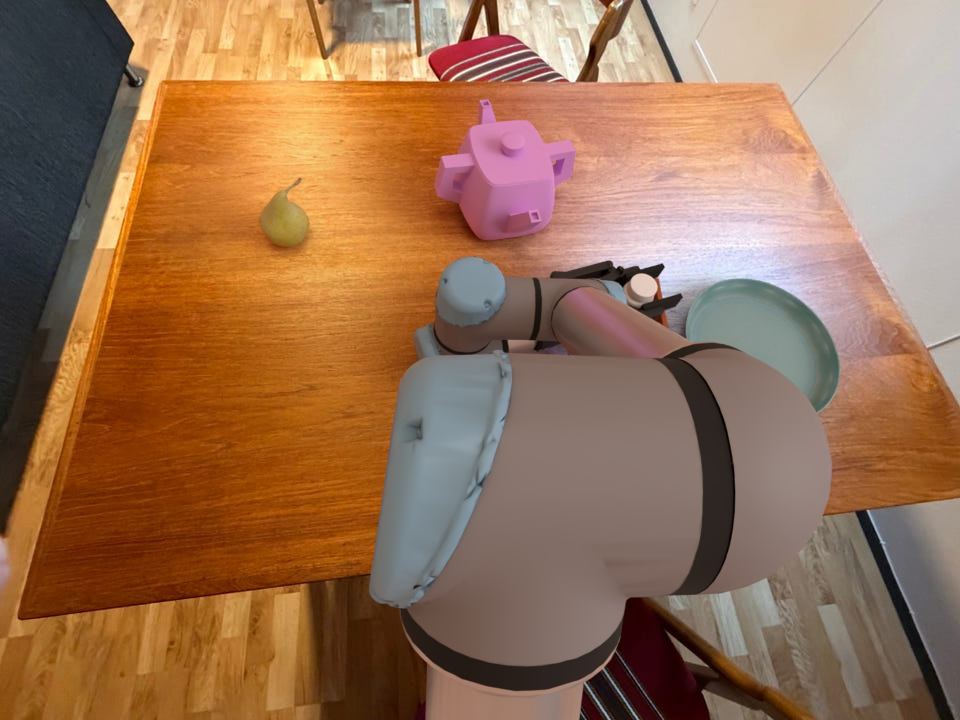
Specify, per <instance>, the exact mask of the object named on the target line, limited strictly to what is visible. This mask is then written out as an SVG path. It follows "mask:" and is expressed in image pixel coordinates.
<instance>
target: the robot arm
mask: <svg viewBox="0 0 960 720" xmlns="http://www.w3.org/2000/svg"><path fill="white" fill-rule="evenodd" d="M664 269H666V267H665V265H664V263H658V264H655V265H651V266H647V267H644V268H640V266H639V265H633V266H628V267H624V266H622V265H618V266H617V267H615V266H614V262H613V261H612V260H610V259H609V260H607V259H606V260H604V261H600V262H597V263H593V264H589V265H585V266H582V267H578V268H574V269H570V270H567V271H563V270H562V271H561V270H553V271H551V272H550V274H549V277H536V276H535V277H532V276H517V275H503V273H502V271H501V270H500V268H498V266H497V265H496V264H495V263H493V262H489V261H488V260H485V259H484V258H482V257H479V256H465V257H464V256H463V257H460V258H457V259H456V260H455V259H454V260H453V261H452V262H450V263H449V264H448V265H446V267H445V268H444V269H443V271H442V272H441V274H440V275H439V279H438V285H437V290H436V292H435V300H434V309H435V310H434V322H433V323H432V322H429V323H428V324H426V325H424V326H421V327H419V328H416V329H417V330H415V331H414V333H413V344H414V349H415V352H416V356H417V361H416V362H414V363H413V364H411V365H410V366H409V368H407V370H406V371H405V372H404V373H403V375H402V377H401V379H400V382H399V384H398V389H397V392H396V393H397V394H396V400H395V405H394V406H395V407H394V414H393V420H392V426H391V433H390V438H389V445H388V452H387V459H386V464H385V473H384V480H383V481H384V482H383V488H382V496H381V503H380V509H379V517H378V520H377V521H378V522H377V529H376V530H377V531H376V535H375V541H374V549H373V555H372V563H371V569H370V575H369V576H370V577H369V583H368V591H369V596H370V597H371V598H372V599H373V600H374V601H375V602H376V603H379V604H382V605H385V604H386V605H388V606H390V607H393V608H396V609H399V617H400V622H401V625H402V628H403V632H404V634H405V636H406V638H407V640H408V642H409V644H410V645H411V647H412V648H413V650H414V651H415V652H416V653H417V655H419V657H420V658H421V659H423V660H424V662H426V685H425V686H426V690H425V720H580V716H581V709H582V708H581V707H582V702H583V701H582V700H583V693H584V692H583V691H584V683H585V682H587V681H589V680H591V679H592V678H593V677H595V676H596V675H597V674H598V673H600V672H601V671H602V670H603V669H604V668H605V667H606V666H607V665H608V663H609V662H610V661H611V660H612V658H613V656H614V654H615V652H616V650H617V647H618V645H619V643H620V640H621V637H622V629H623V622H624V616H625V609H626V604H627V600H628V599H630V598H654V597H655V598H657V597H662V598H663V597H672V596H676V597H677V596H702V595H720V594H724V593H727V592H732V591H735V590H740V589H743V588H747V587H751V586H752V585H754V584H757V583H759V582H761V581H763V580H765V579H767V578H770V577H771V576H772V575H774V574H776V573H777V572H779V571H780V570H782V569H783V568H784V567H785V566H787V564H788V563H790V562H791V561H792V560H793V559H794V558H795V557H796V556H798V555H799V554H800V552H802V550H803V549H804V548H805V547H806V546H807V544H808V542H809V541H810V539H811V538H812V536H813V535H814V534H815V532H816V530H817V529H818V527H819V525H820V523H821V522H822V519H823V516H824V512H825V511H826V508H827V504H828V502H829V499H830V497H831V496H830V495H831V486H832V476H833V461H832V454H831V449H830V444H829V441H828V437H827V432H826V429H825V426H824V424H823V422H822V421H821V419H820V416H819V414H817V413H816V411H815V409H814V407H813V406H812V404H811V403H810V401H809V400H808V398H807V397H806V396H805V395H804V394H803V393H802V392H801V391H800V389H799V388H798V387H797V386H796V385H795V384H794V383H793V382H792V381H791V380H789V379H788V378H787V377H785V376H784V375H783V374H781V373H780V372H779V371H777V370H776V369H774V368H773V367H771V366H769V365H768V364H766V363H764V362H763V361H761V360H759V359H757V358H755V357H753V356H750V355H749V354H747V353H745V352H743V351H741V350H739V349H737V348H735V347H732V346H730V345H727V344H723V343H719V342H709V341H707V342H695V343H693V342H691V341H690V340H688V339H686V337H684V336H682V335H681V334H679V333H677V332H675V331H674V330H672V329H670V328H669V327H668V328H667V327H665V326H663V325H661V324H660V323H658V322H656V321H654V319H657V318H659V317H660V316H661V315H662V314H663V313H664V311H665V312H666V311H667V310H671V309H674V308H676V307H677V306H678V304H679V303H680V302H681V301H682V300H683V298H684V295H682V293H677V294H673V295H670V296H666V297H662V298H663V299H659V300H656V301H652V302H649V303H646V304H642V306H641V307H640V308H639V310H635V309H633V308H631V307H630V306H628V305H627V299H626V296H625V293H623V286H624V285H625V284H626V283H627V282H629V281H630V280H631V279H632V277H633V276H635V275H637V274H647V275H649V276H651V277H652V278H653V279H654V278H659V277H660V275H661V274H662V272H663V271H664ZM601 277H602V278H601ZM598 278H600V279H598ZM618 282H619V284H618ZM560 345H561V346H562V347H563V348H564V349H565V351H566V352H567V353H568V354H550V353H549V354H546V353H533V352H534V351H535V352H540V351H544V350H546V349H551V348H554V347H557V346H560Z"/></svg>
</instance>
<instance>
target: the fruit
mask: <svg viewBox="0 0 960 720" xmlns="http://www.w3.org/2000/svg"><path fill="white" fill-rule="evenodd" d="M302 180H303V178H302V177H298V178H297V180H296V181H295V182H294V183H293V184H291V185H289V186H288V187H287V188H285V189H283V190H279V191H278V192H277V193H275V194H274V195H273V196H272V197H271V198H270V200H269V201H268V203H266V205H265V206H264V207H263V208H262V209H261V211H260V215H259V225H260V229H261V232H262V233H263V235H264V237H265V238H266V240H267V241H268V242H270V243H271V244H273V245H276V246H277V247H283V248H293V247H296V246H299V244H301V243H302V242H303V241H304V239H305V237H306V236H307V233H308V231H309V226H310V219H309V216H308V214H307V213H306V211H305V210H304V208H303V207H301V206H300V205H299V204H297V203H296V202H293V201H291V200H289V198H288V193H289V192H290V191H291V190H292V189H294V188H295V187H297V186H298V185H299V184H300V183H301V182H302Z"/></svg>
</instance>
